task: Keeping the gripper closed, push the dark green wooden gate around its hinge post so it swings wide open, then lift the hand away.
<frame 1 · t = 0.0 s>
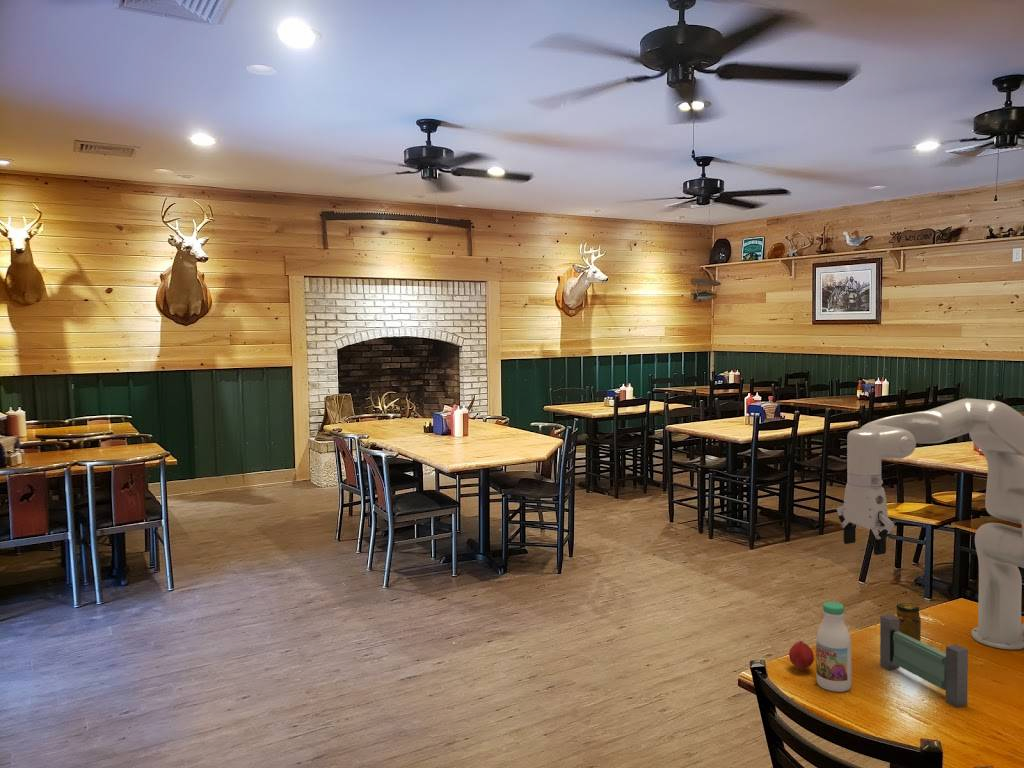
hand: (864, 548, 181), 31 cm above the table, tool pointing down, fingers open, 9 cm apart
gate: (919, 659, 175), point 6 cm above the table, hinge at 0.0°
onion: (801, 671, 185), on the table
gate posts: (919, 683, 176), on the table
milk bottle: (833, 685, 177), on the table
condiment: (910, 651, 193), on the table
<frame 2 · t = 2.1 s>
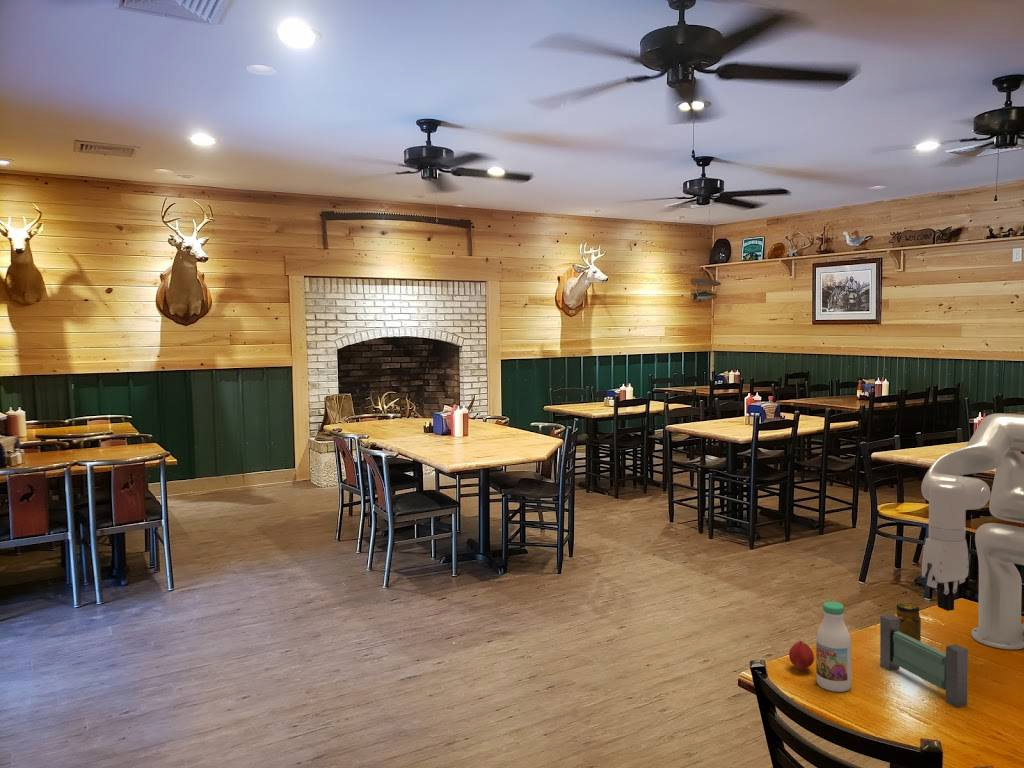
hand: (945, 608, 176), 18 cm above the table, tool pointing down, fingers closed
nothing on the table moved.
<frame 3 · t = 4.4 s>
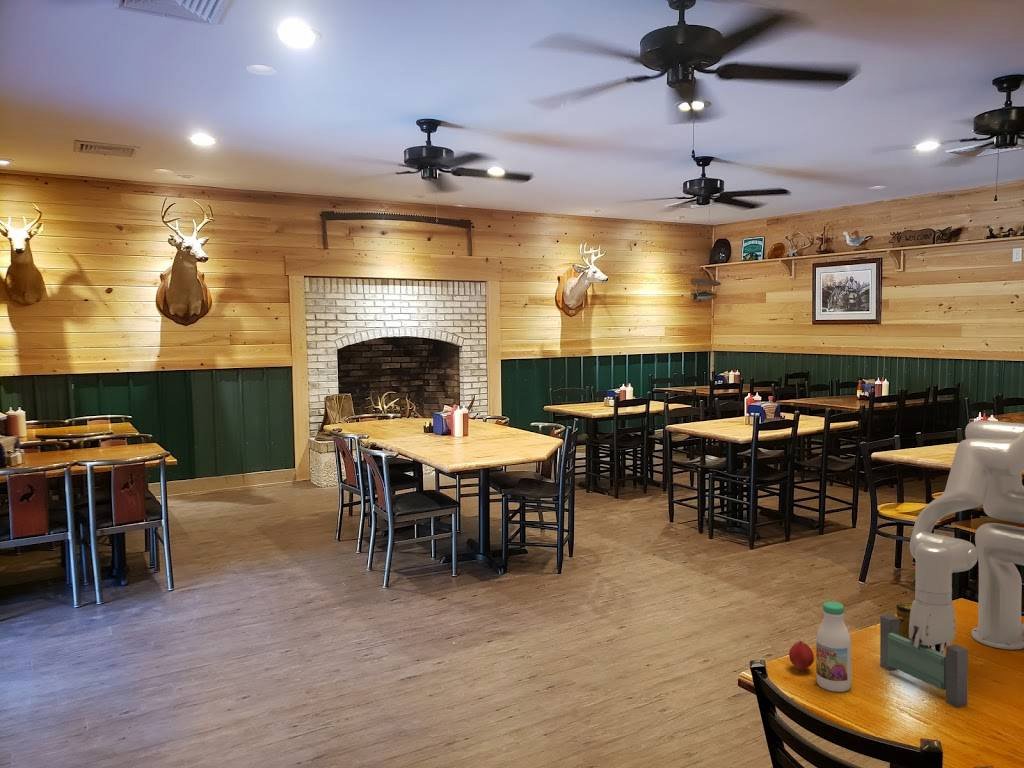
hand: (932, 669, 176), 3 cm above the table, tool pointing down, fingers closed
gate: (916, 660, 175), point 6 cm above the table, hinge at 6.9°, touching gripper
everything else where it was.
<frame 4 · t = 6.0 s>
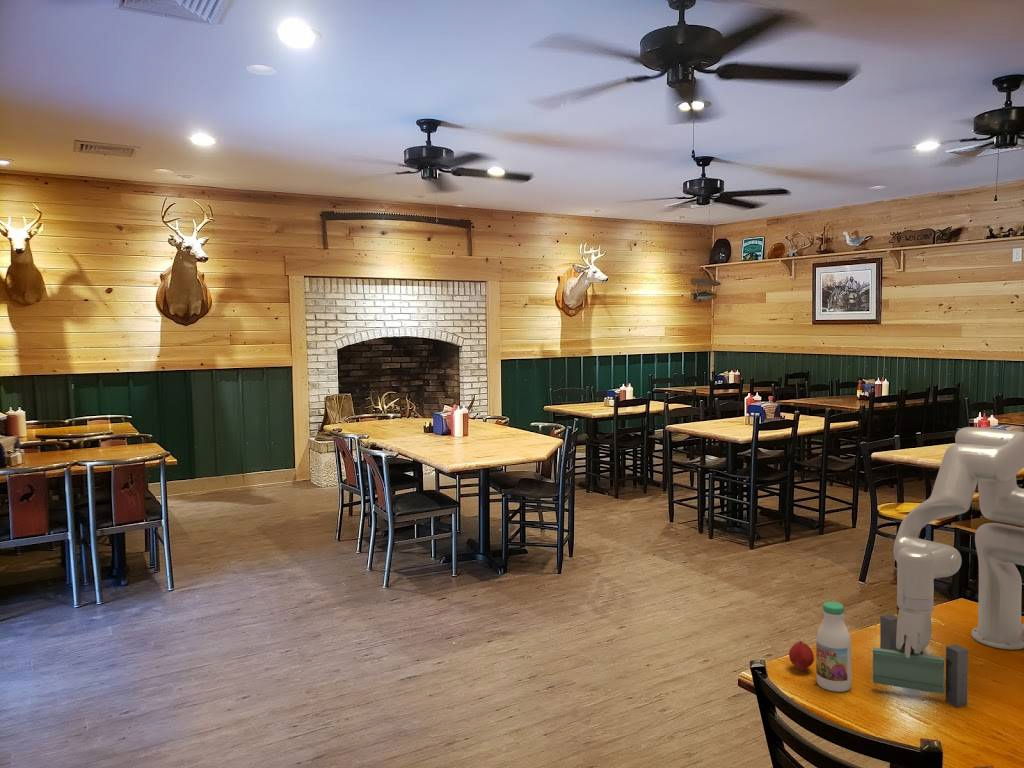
hand: (915, 676, 174), 3 cm above the table, tool pointing down, fingers closed
gate: (907, 670, 170), point 6 cm above the table, hinge at 45.8°, touching gripper
everything else where it was.
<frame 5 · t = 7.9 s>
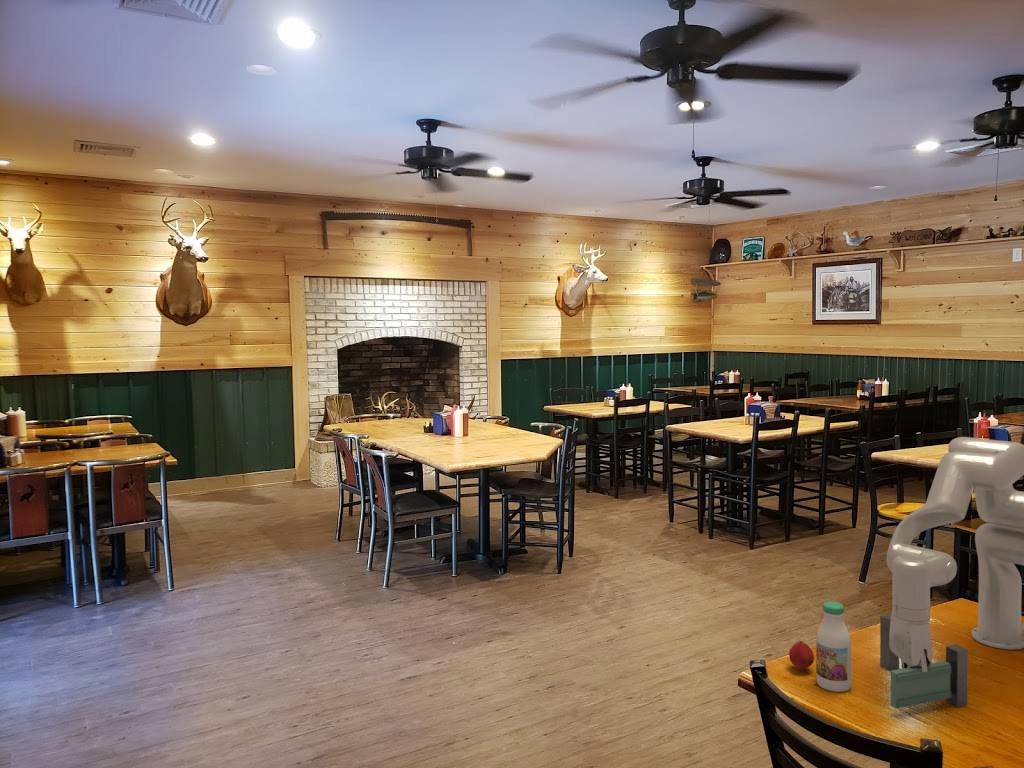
hand: (911, 688, 168), 3 cm above the table, tool pointing down, fingers closed
gate: (921, 685, 164), point 6 cm above the table, hinge at 86.3°, touching gripper
everything else where it was.
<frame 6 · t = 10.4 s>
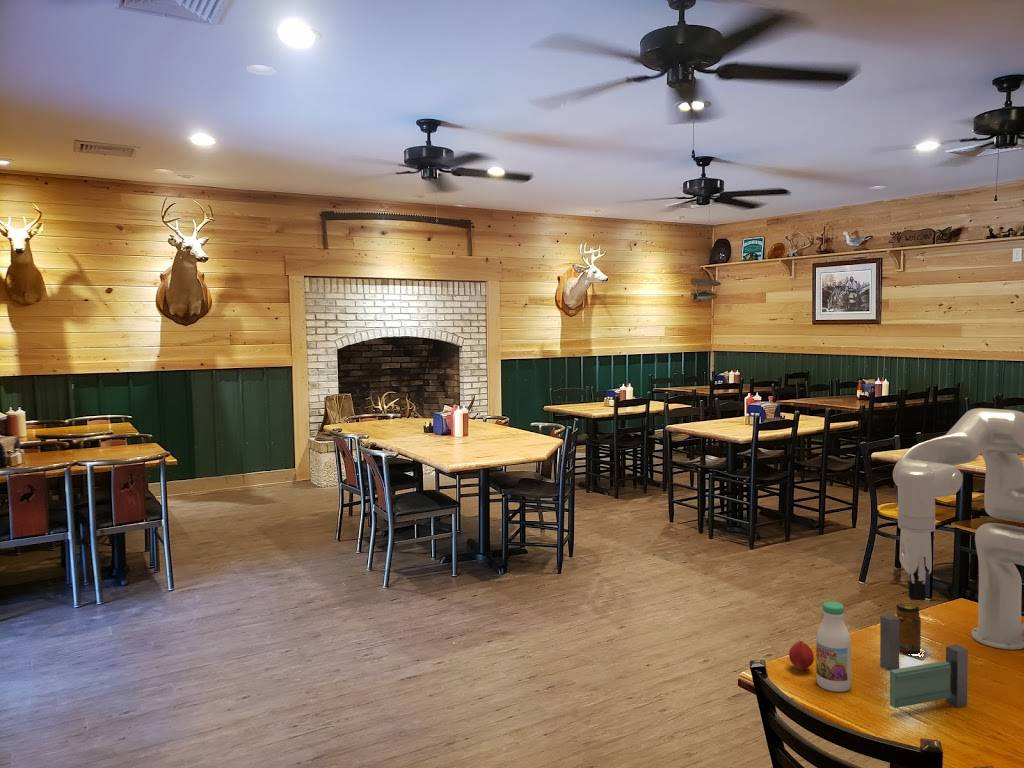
hand: (916, 598, 171), 23 cm above the table, tool pointing down, fingers closed
gate: (921, 684, 164), point 6 cm above the table, hinge at 85.4°
everything else where it was.
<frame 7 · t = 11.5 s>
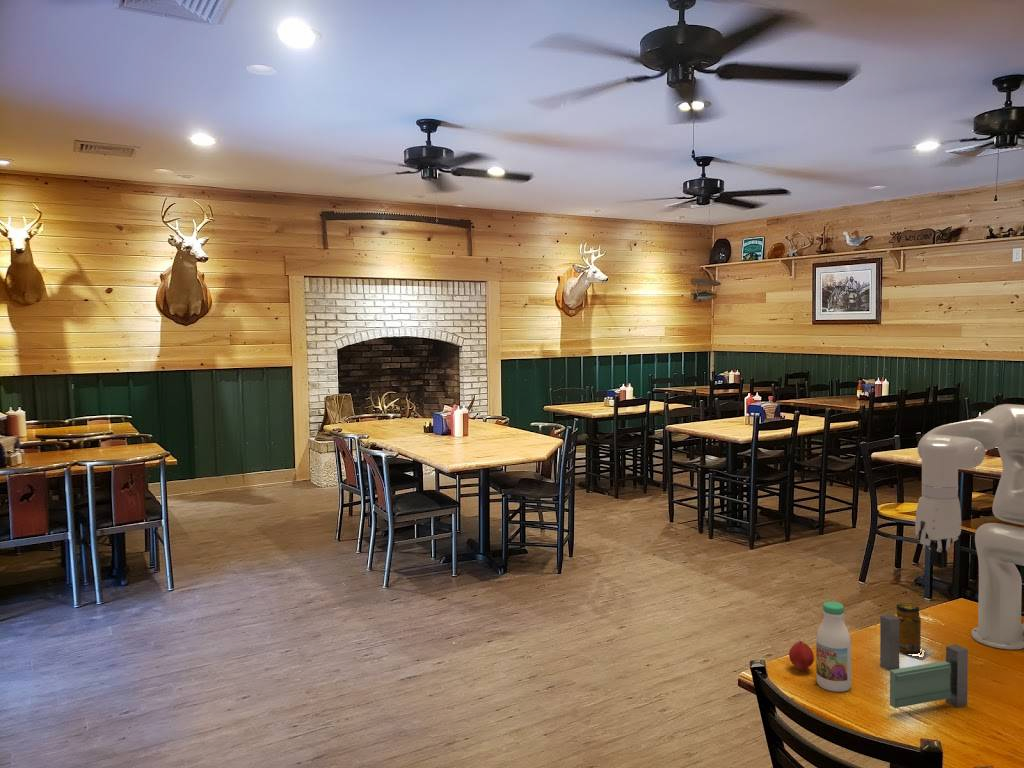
hand: (939, 566, 178), 27 cm above the table, tool pointing down, fingers closed
nothing on the table moved.
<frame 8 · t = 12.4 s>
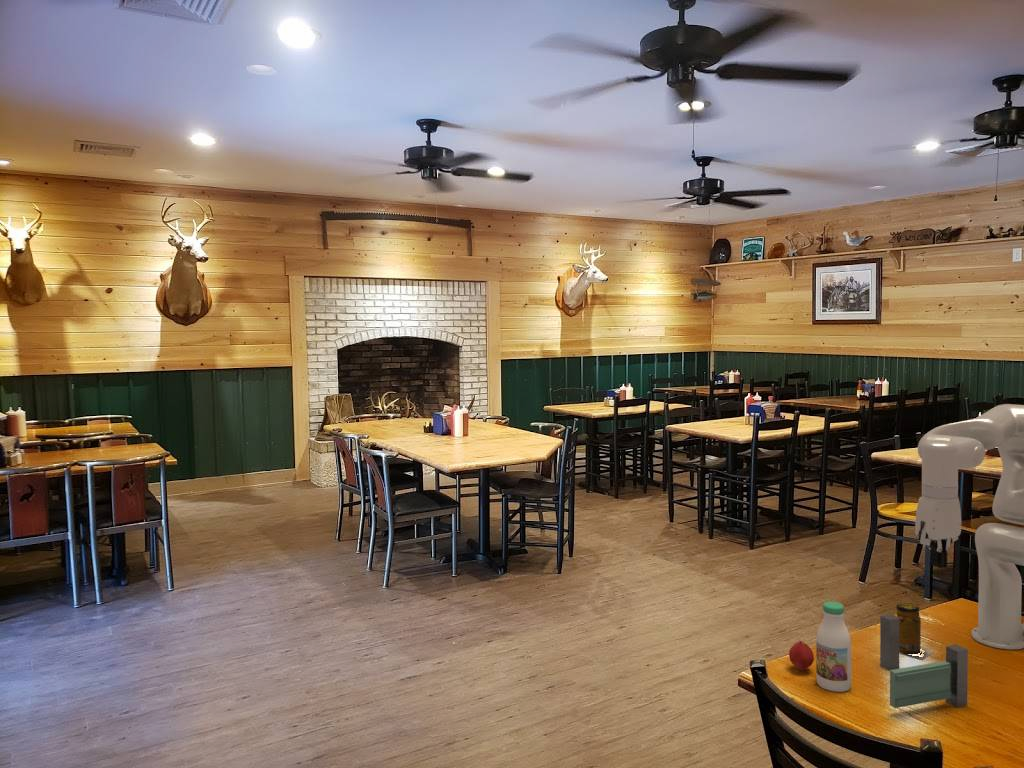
hand: (939, 566, 178), 27 cm above the table, tool pointing down, fingers closed
nothing on the table moved.
at the end: gate at +85° (first picture: +0°); milk bottle moved 0.2 cm from its start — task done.
